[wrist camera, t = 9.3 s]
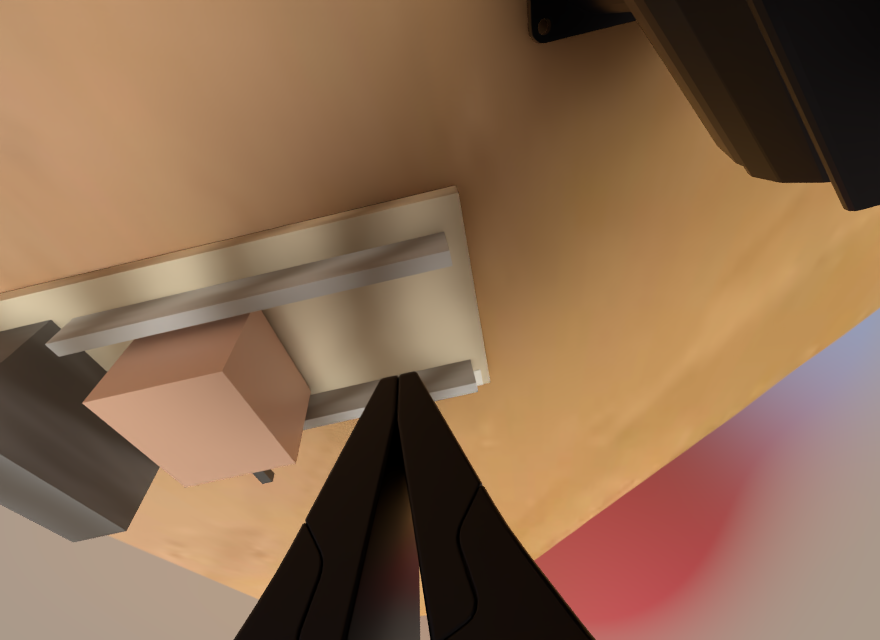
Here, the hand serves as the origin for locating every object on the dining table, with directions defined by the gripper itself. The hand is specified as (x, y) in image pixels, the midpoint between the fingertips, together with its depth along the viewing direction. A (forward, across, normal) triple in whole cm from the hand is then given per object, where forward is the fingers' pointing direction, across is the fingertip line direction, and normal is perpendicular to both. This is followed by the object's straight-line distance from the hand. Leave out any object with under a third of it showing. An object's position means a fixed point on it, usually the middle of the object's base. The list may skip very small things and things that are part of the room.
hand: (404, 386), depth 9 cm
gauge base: (+12, +9, +6) cm, 16 cm away
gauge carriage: (+11, +11, +8) cm, 17 cm away
